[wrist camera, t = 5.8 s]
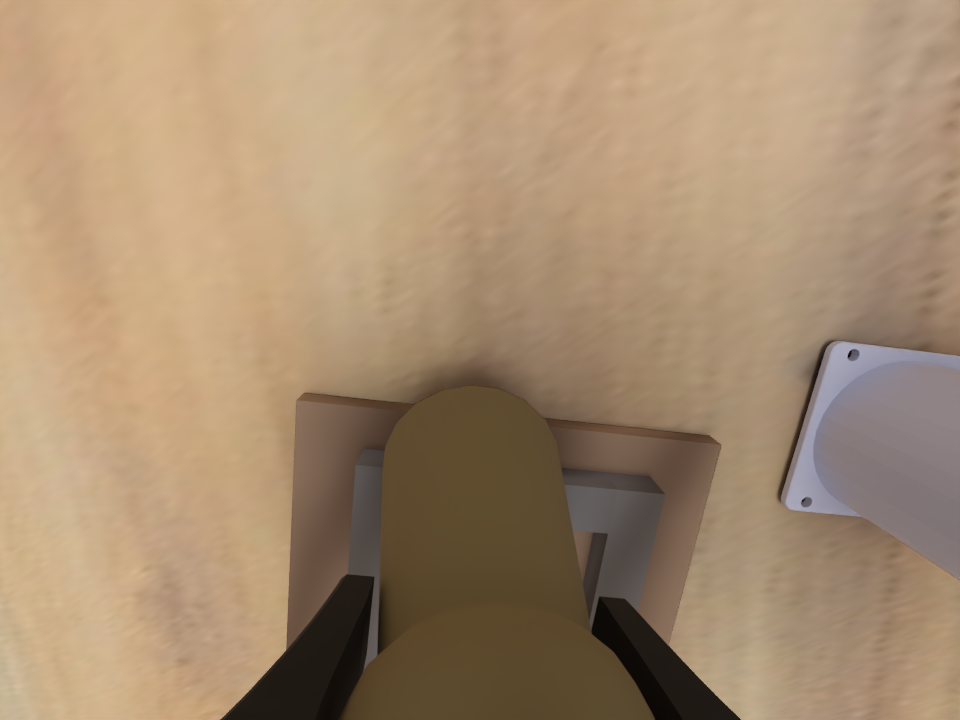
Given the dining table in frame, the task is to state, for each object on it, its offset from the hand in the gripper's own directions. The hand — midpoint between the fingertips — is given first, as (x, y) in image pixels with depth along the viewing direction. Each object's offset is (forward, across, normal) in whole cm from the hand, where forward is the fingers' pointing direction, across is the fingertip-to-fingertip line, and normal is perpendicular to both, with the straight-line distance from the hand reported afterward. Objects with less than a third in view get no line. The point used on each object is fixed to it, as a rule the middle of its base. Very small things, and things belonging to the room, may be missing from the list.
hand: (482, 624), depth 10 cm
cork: (+6, 0, -1) cm, 6 cm away
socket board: (+10, -2, +7) cm, 12 cm away
